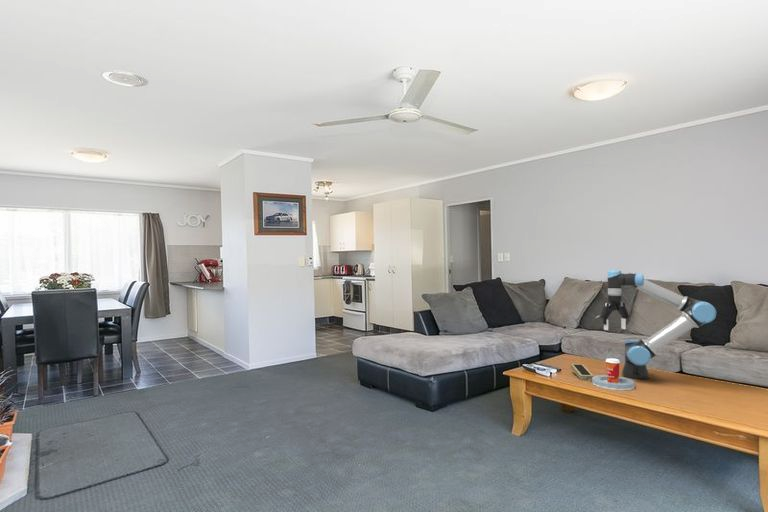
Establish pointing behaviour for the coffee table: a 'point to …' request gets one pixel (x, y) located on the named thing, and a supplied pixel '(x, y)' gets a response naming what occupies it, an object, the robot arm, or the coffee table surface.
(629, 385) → the ring tray
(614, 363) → the paper cup
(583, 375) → the box
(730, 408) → the coffee table surface
